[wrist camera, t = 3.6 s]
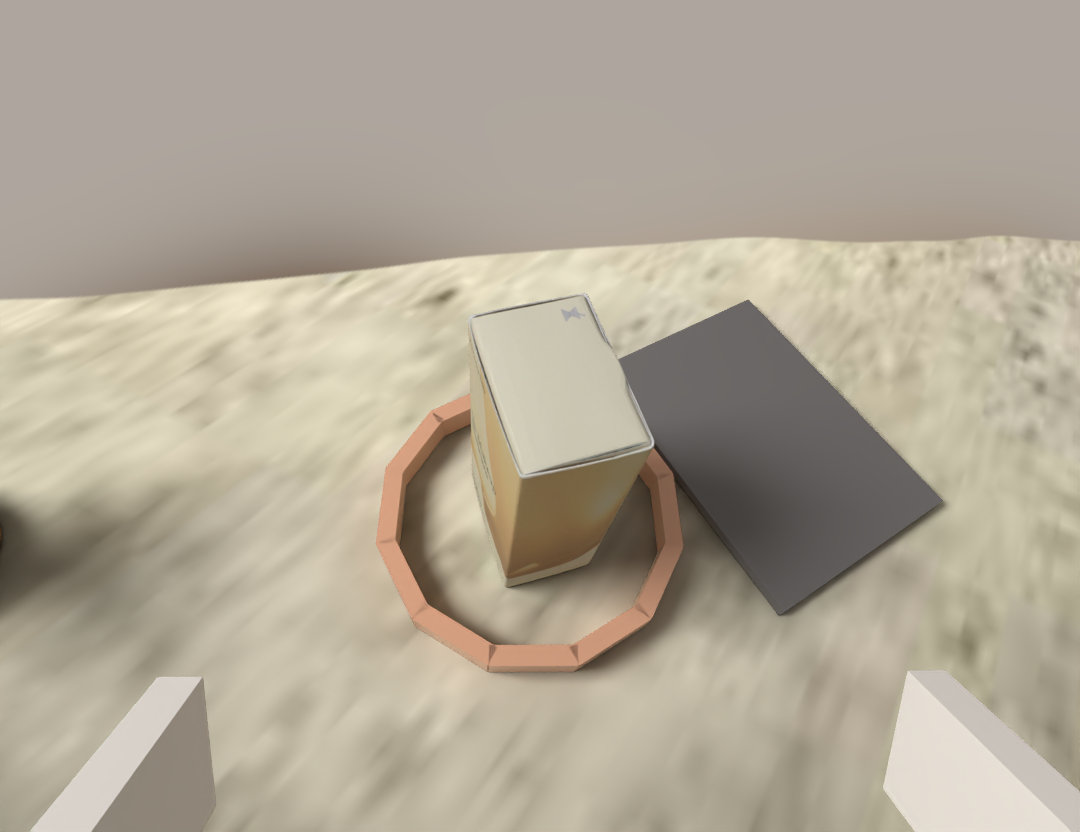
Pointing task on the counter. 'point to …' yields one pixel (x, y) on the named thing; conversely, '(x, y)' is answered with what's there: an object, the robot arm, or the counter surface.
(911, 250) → the counter surface
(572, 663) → the pink polygonal ring
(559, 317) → the skincare box
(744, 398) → the rubber mat
